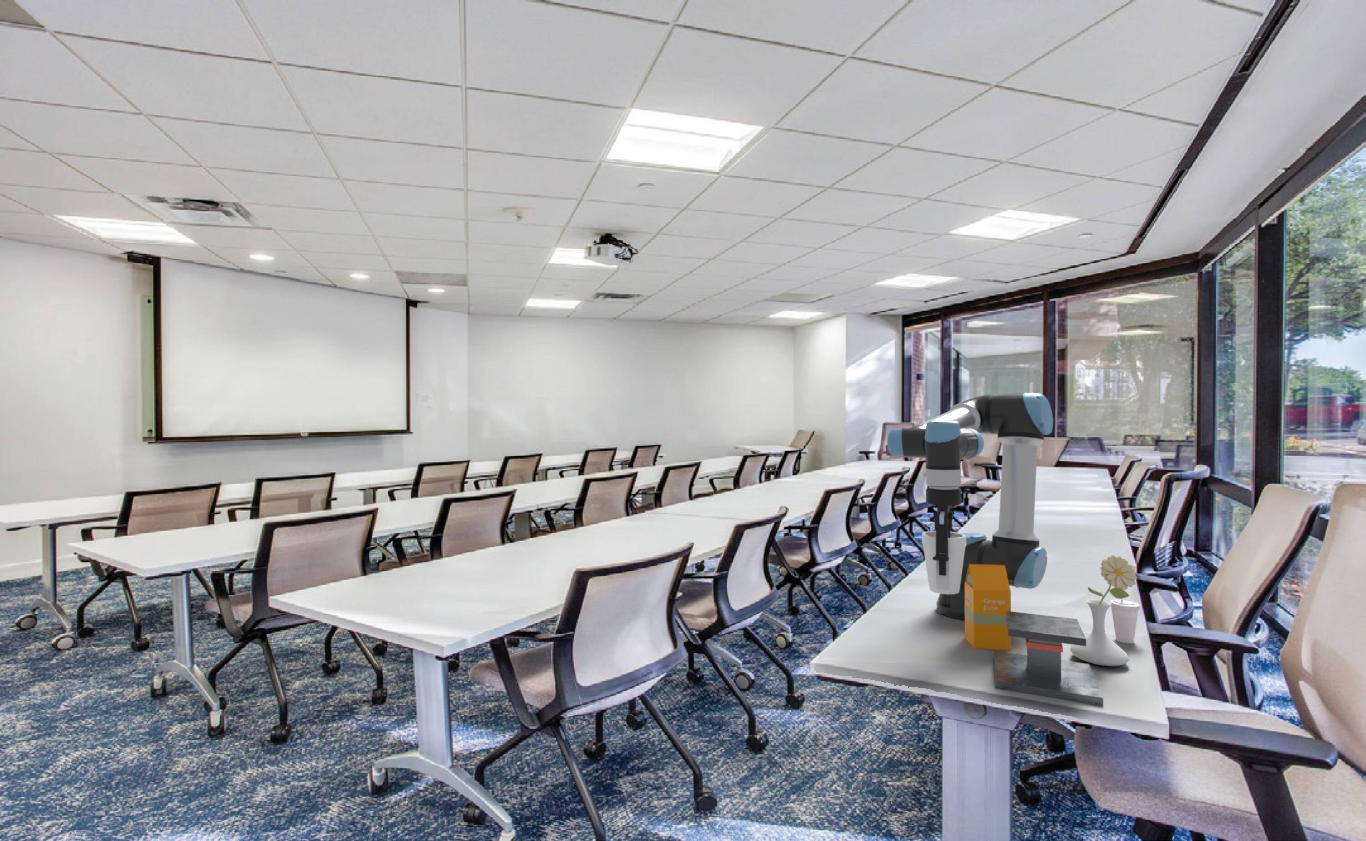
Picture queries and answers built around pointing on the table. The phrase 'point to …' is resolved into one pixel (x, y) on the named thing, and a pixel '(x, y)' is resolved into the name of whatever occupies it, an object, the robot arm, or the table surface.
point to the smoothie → (1124, 619)
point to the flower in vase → (1097, 642)
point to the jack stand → (1046, 660)
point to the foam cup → (955, 560)
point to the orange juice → (987, 606)
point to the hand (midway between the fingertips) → (944, 583)
